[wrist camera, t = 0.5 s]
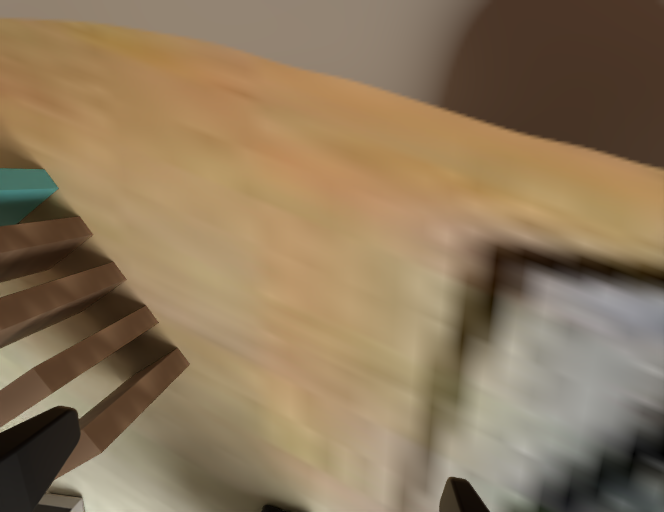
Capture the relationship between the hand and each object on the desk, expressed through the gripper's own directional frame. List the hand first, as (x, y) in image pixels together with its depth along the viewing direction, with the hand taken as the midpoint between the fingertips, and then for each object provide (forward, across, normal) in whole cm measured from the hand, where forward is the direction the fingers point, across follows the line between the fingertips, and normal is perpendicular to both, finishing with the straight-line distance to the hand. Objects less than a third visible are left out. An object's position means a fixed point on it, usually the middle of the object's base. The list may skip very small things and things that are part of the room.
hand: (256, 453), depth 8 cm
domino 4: (+17, +20, +3) cm, 26 cm away
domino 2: (+16, +15, +9) cm, 23 cm away
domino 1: (+15, +12, +12) cm, 23 cm away
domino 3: (+16, +17, +6) cm, 24 cm away
